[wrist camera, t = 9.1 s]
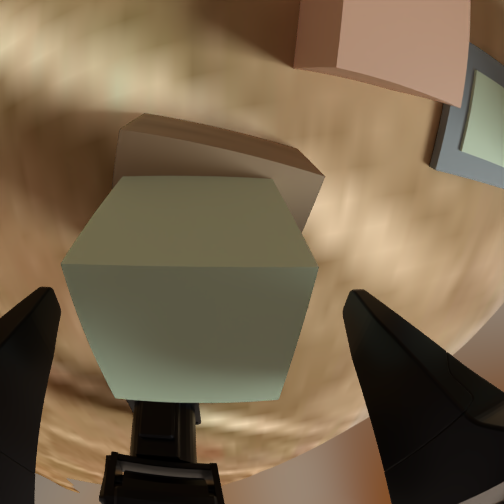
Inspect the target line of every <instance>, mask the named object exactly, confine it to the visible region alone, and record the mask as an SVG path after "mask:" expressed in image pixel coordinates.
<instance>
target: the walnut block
mask: <svg viewBox="0 0 504 504" xmlns="http://www.w3.org/2000/svg"><path fill="white" fill-rule="evenodd" d="M123 176H221V177H247V178H266V179H273V181H274V183H275V185H276V186H277V188H278V190H279V192H280V194H281V196H282V198H283V199H284V201H285V203H286V205H287V207H288V209H289V211H290V212H291V214H292V216H293V218H294V220H295V222H296V224H297V226H298V228H299V229H300V231H301V233H302V231H303V229H304V226H305V224H306V222H307V219H308V217H309V215H310V212H311V210H312V207H313V205H314V203H315V200H316V198H317V195H318V193H319V190H320V188H321V186H322V183H323V181H324V178H325V176H324V175H323V174H322V173H321V172H320V171H319V170H318V169H317V168H316V167H315V166H314V165H313V164H312V163H311V162H310V161H309V160H308V159H307V158H306V157H305V156H304V155H303V154H302V153H301V152H300V151H299V150H298V149H296V148H292V147H289V146H286V145H282V144H279V143H276V142H272V141H269V140H265V139H261V138H258V137H254V136H250V135H246V134H242V133H238V132H234V131H230V130H226V129H222V128H218V127H213V126H209V125H204V124H199V123H195V122H190V121H185V120H180V119H174V118H169V117H163V116H158V115H152V114H143V115H141V116H140V117H138V118H137V119H135V120H133V121H132V122H130V123H129V124H127V125H126V126H124V127H123V128H121V129H120V131H119V137H118V143H117V150H116V157H115V165H114V173H113V183H112V189H113V188H114V187H115V185H116V184H117V183H118V182H119V180H120V179H121V178H122V177H123Z"/></svg>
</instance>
